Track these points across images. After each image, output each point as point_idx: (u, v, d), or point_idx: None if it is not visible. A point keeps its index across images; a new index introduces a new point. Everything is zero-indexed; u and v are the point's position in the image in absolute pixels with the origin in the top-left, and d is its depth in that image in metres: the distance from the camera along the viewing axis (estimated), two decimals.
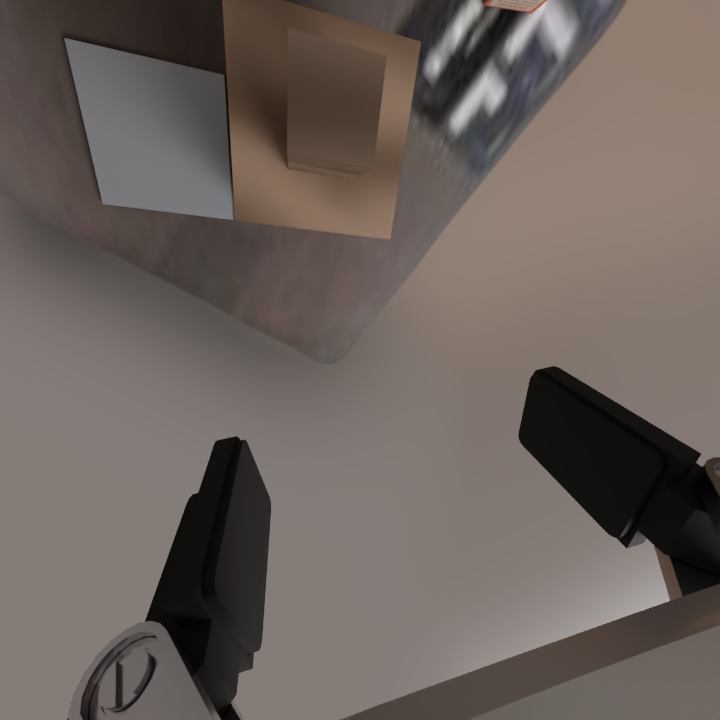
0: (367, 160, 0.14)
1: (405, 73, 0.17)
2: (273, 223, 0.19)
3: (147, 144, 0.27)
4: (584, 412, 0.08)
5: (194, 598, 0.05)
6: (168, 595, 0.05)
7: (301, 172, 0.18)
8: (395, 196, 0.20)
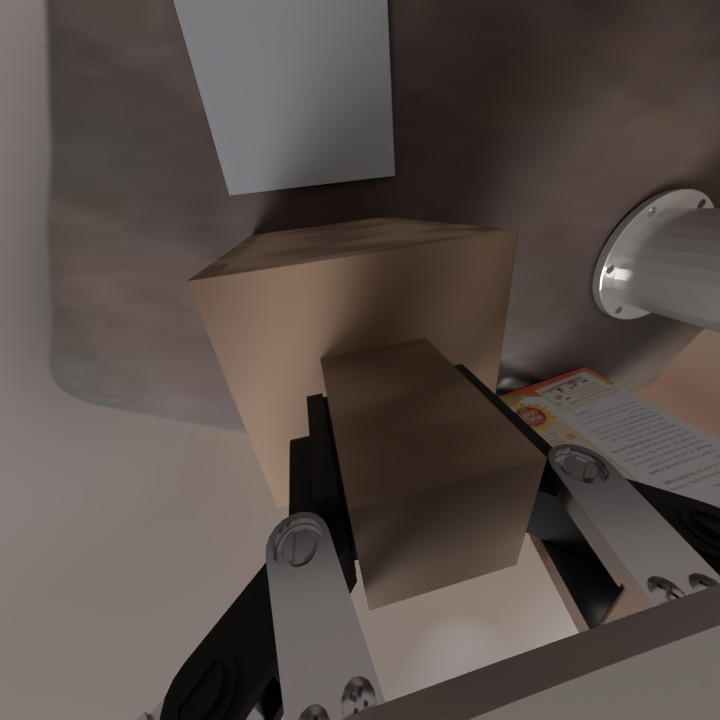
0: (378, 601, 0.07)
1: None
2: (218, 352, 0.10)
3: (287, 47, 0.17)
4: None
5: (338, 494, 0.06)
6: (316, 493, 0.06)
7: (322, 377, 0.11)
8: None
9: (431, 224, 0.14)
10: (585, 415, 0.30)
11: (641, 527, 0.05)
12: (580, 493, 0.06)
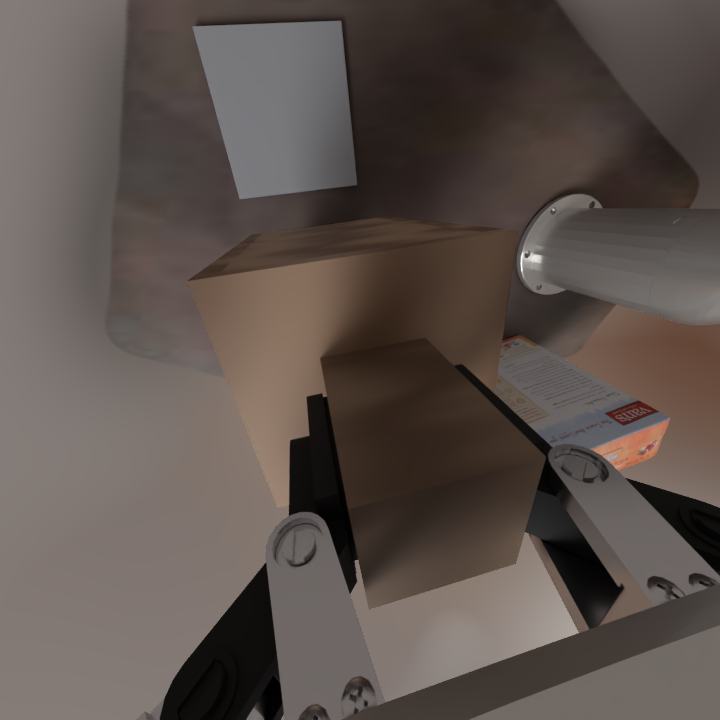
0: (378, 600, 0.07)
1: None
2: (219, 352, 0.10)
3: (279, 100, 0.26)
4: None
5: (338, 494, 0.06)
6: (316, 493, 0.06)
7: (322, 377, 0.11)
8: None
9: (431, 224, 0.14)
10: (510, 367, 0.39)
11: (641, 527, 0.05)
12: (580, 493, 0.06)
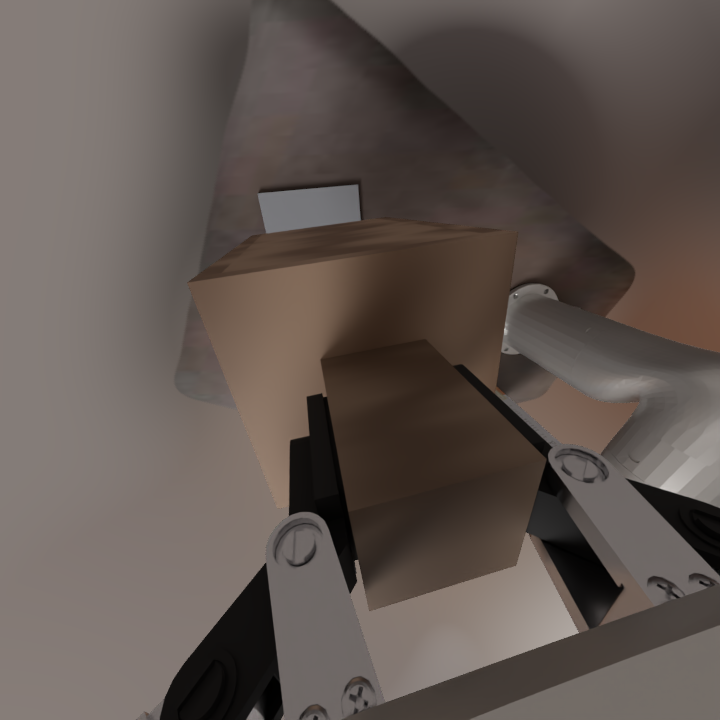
0: (378, 602, 0.07)
1: None
2: (219, 354, 0.10)
3: None
4: None
5: (338, 494, 0.06)
6: (316, 493, 0.06)
7: (322, 378, 0.11)
8: None
9: (431, 225, 0.14)
10: None
11: (641, 527, 0.05)
12: (580, 493, 0.06)
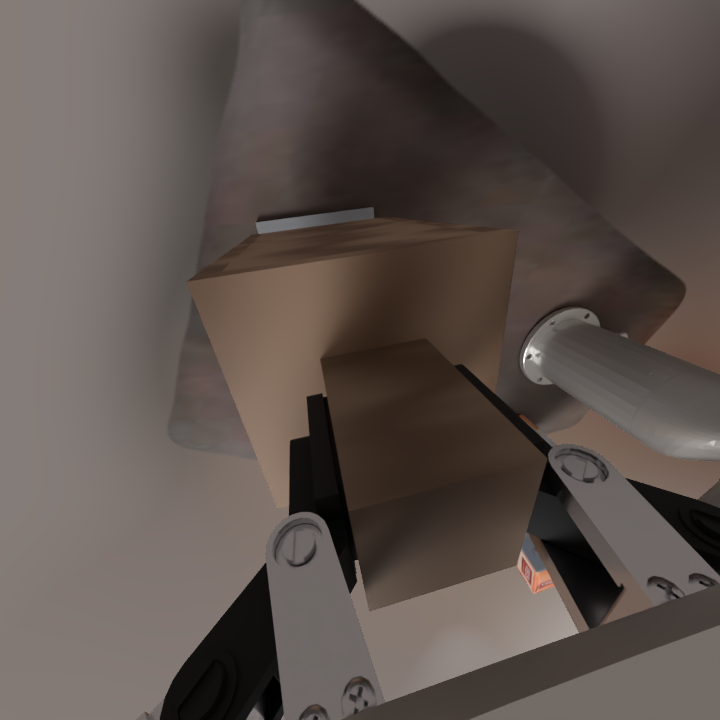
0: (378, 602, 0.07)
1: None
2: (218, 353, 0.10)
3: None
4: None
5: (338, 494, 0.06)
6: (316, 493, 0.06)
7: (322, 378, 0.11)
8: None
9: (431, 224, 0.14)
10: None
11: (641, 527, 0.05)
12: (580, 493, 0.06)
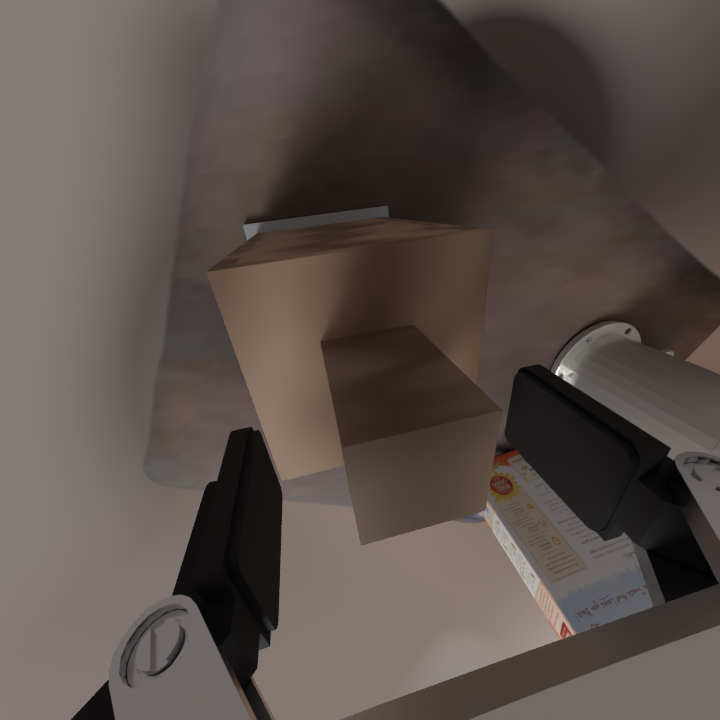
0: (368, 536, 0.08)
1: None
2: (232, 335, 0.11)
3: None
4: (564, 409, 0.08)
5: (220, 573, 0.05)
6: (195, 571, 0.05)
7: (322, 359, 0.12)
8: (334, 466, 0.15)
9: (421, 224, 0.16)
10: (542, 487, 0.38)
11: None
12: (704, 496, 0.05)
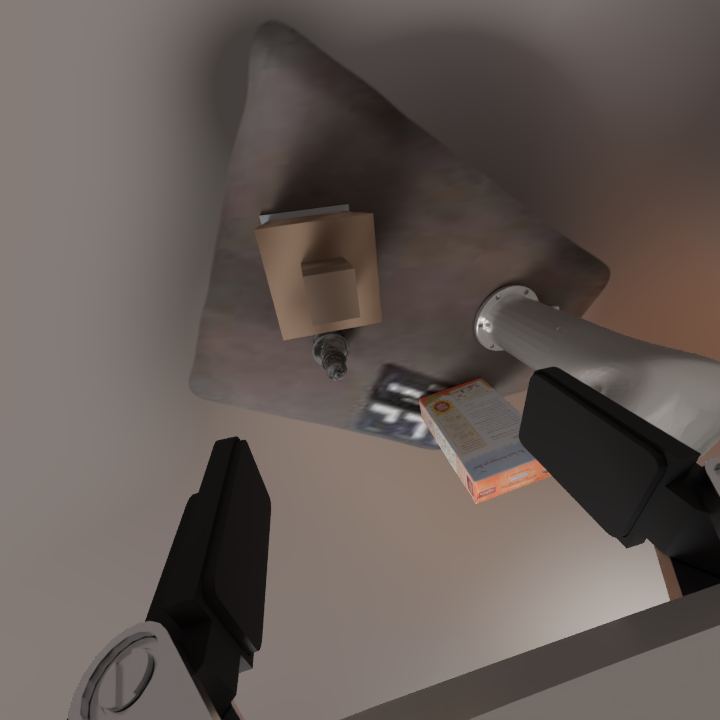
0: (315, 321, 0.24)
1: (367, 318, 0.31)
2: (262, 258, 0.26)
3: None
4: (584, 412, 0.08)
5: (194, 598, 0.05)
6: (168, 595, 0.05)
7: (301, 272, 0.27)
8: (309, 334, 0.30)
9: None
10: (469, 405, 0.53)
11: None
12: None
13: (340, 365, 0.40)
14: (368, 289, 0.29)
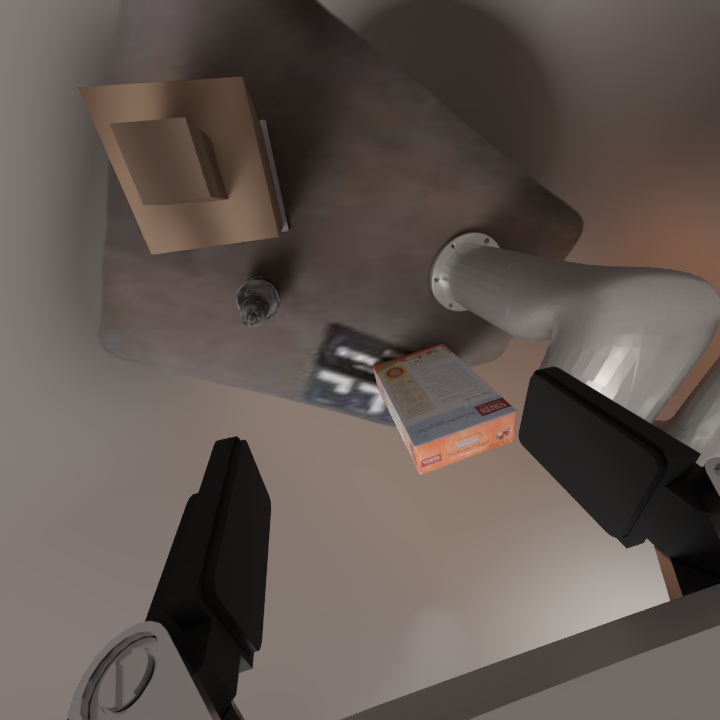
0: (145, 198, 0.18)
1: (259, 231, 0.25)
2: (99, 132, 0.20)
3: None
4: (584, 412, 0.08)
5: (194, 598, 0.05)
6: (168, 595, 0.05)
7: None
8: (185, 248, 0.25)
9: None
10: (424, 370, 0.48)
11: None
12: None
13: (254, 307, 0.34)
14: (253, 189, 0.24)
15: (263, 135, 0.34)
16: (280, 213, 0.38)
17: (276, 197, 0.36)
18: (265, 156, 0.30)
